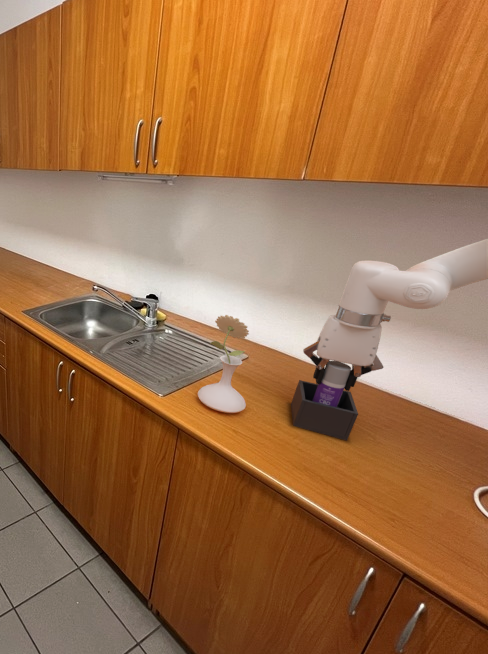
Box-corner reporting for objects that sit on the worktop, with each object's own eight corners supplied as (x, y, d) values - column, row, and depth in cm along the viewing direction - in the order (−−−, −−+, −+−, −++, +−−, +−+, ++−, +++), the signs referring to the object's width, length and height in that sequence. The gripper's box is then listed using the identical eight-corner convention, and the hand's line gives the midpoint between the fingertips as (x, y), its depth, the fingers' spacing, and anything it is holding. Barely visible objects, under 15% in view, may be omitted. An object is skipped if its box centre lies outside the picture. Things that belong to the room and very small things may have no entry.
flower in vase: (254, 413, 103) (280, 327, 94) (218, 420, 101) (241, 333, 91) (216, 386, 115) (236, 307, 105) (183, 392, 112) (200, 311, 103)
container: (311, 420, 98) (331, 368, 92) (305, 409, 102) (323, 359, 96) (334, 424, 96) (355, 372, 91) (327, 413, 101) (346, 362, 95)
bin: (340, 417, 101) (350, 391, 98) (347, 440, 93) (358, 414, 90) (290, 404, 107) (299, 379, 104) (293, 425, 99) (302, 399, 96)
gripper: (404, 317, 87) (374, 387, 94) (308, 303, 96) (288, 368, 103) (414, 330, 81) (382, 403, 88) (311, 314, 90) (289, 382, 97)
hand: (331, 384), depth 96 cm, fingers closed on container, 4 cm apart
